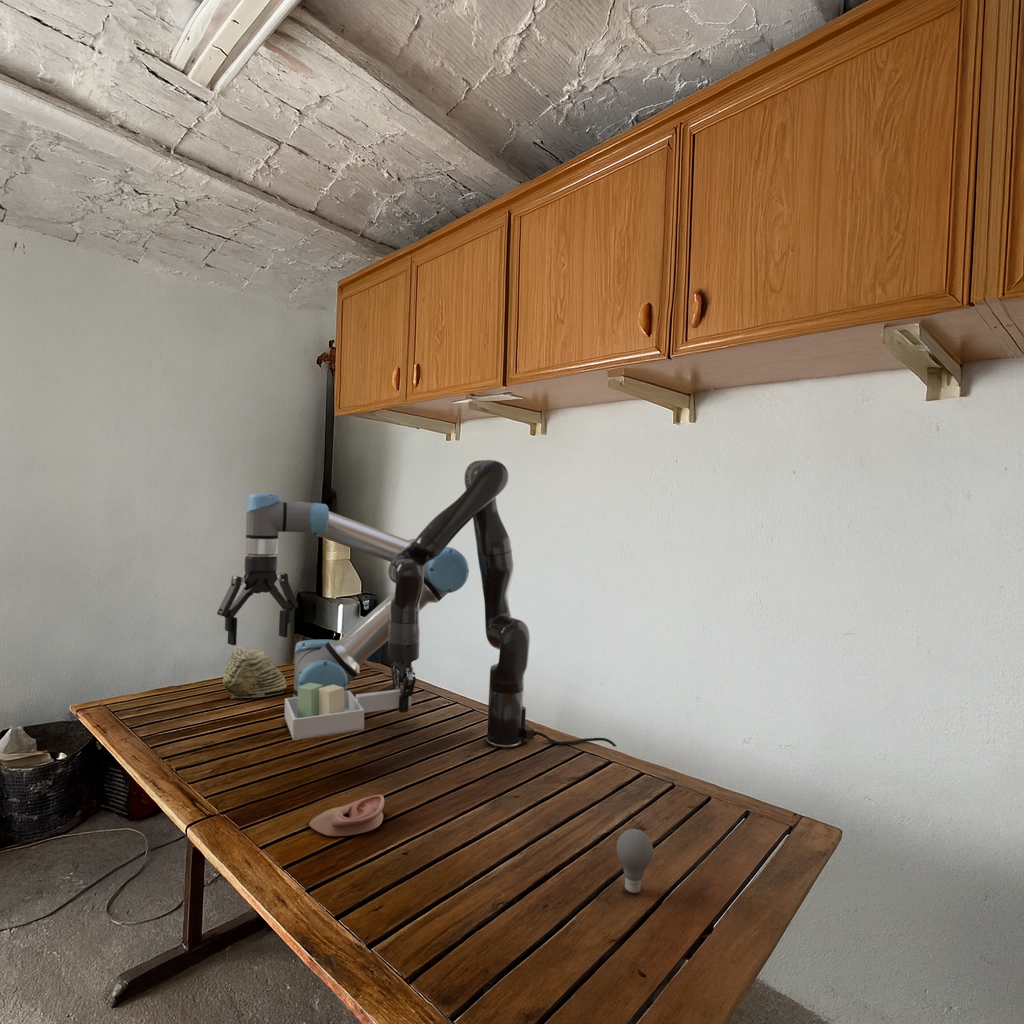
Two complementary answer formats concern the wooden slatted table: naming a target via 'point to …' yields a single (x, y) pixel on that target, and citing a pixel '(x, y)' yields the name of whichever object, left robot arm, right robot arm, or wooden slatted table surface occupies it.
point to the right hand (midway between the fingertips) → (401, 709)
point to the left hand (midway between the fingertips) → (258, 640)
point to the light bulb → (634, 857)
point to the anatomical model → (351, 817)
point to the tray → (339, 714)
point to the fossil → (252, 674)
